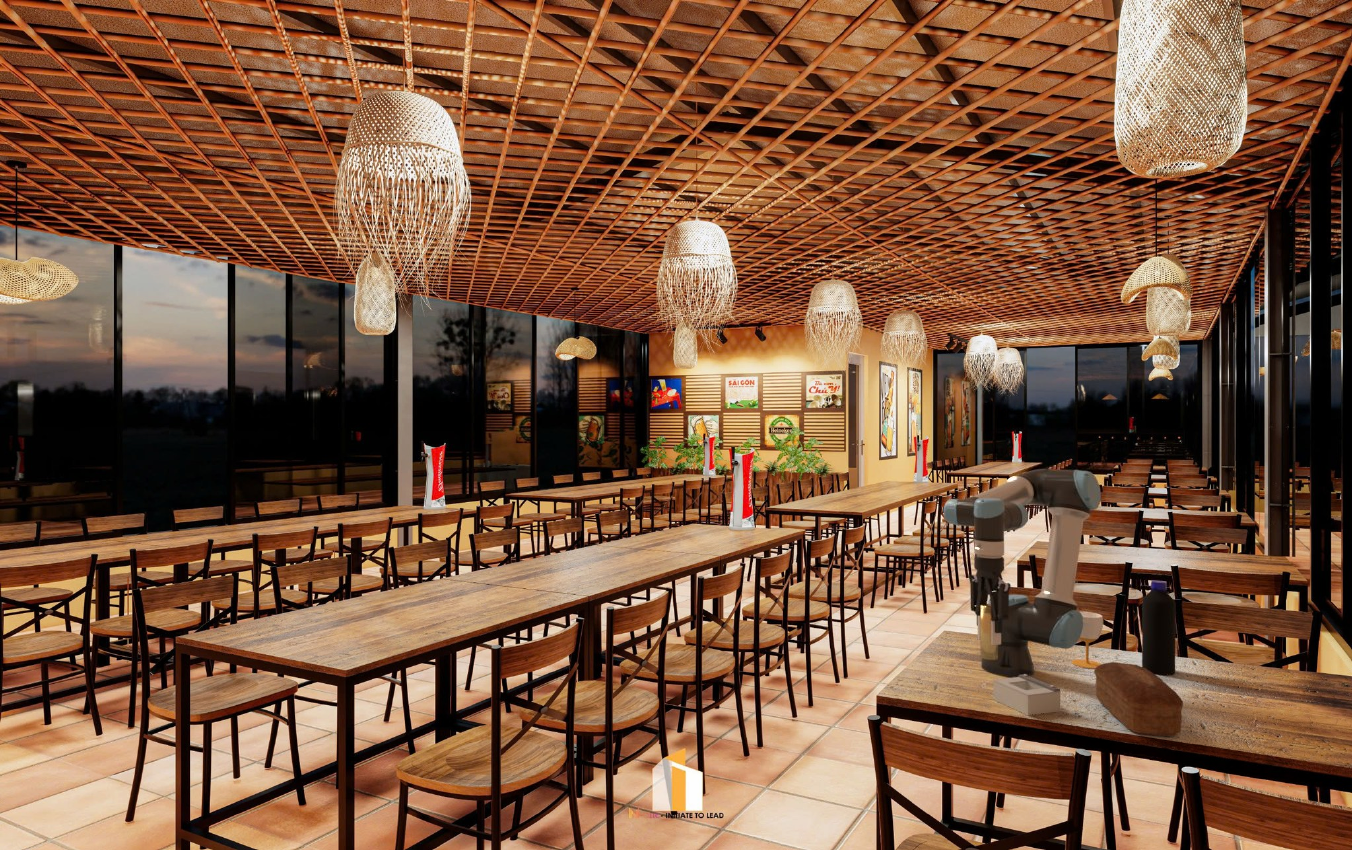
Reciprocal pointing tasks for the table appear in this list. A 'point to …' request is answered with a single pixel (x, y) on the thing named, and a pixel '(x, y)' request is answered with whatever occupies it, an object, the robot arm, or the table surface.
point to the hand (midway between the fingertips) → (989, 641)
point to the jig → (1027, 695)
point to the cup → (1089, 636)
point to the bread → (1139, 699)
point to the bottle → (1158, 630)
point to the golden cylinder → (986, 634)
